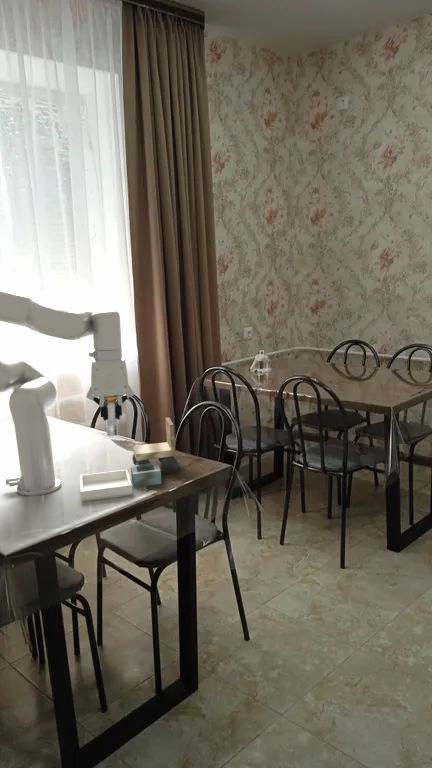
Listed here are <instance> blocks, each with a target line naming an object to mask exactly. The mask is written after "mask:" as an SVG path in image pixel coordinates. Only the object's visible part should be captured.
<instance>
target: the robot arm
mask: <svg viewBox="0 0 432 768" xmlns="http://www.w3.org/2000/svg"><path fill="white" fill-rule="evenodd" d="M0 322H5V323H9V324H12V325H13V324H14V325H16V326H21V327H25V328H28V329H30V330H31V331H35V332H36V333H40V334H42V335H45V336H50V337H54V338H57V339H63V340H67V341H76V340H80V339H81V338H84V337H88V336H92V338H93V350H92V351H89V352H88V356H89V358H94V359H93V360H92V361H91V371H90V372H91V373H90V374H91V375H90V388H89V389H88V391H87V393H86V395H85V397H86V398H87V399H88V400H90V401H92V402H95V404H96V405H98V406H99V408H100V409H99V412H100V417H101V418H102V420H103V421H104V422H106V407H105V400H104V397H107V396H117V399H116V403H117V406H116V408H117V421H118V420H121V416H122V415H123V411H122V405H123V404H124V403H125V402H126V400H127V399H130V397H132V396H134V395H135V392H134V391H133V389H132V388H131V387H130V385H129V377H128V375H129V374H128V368H127V364H126V360H125V358H123V356H122V336H121V335H122V334H121V333H122V332H121V316H120V313H119V312H118V311H117V310H108V309H107V310H105V309H104V310H92V309H91V310H90V309H77V310H73V311H65V310H61V309H56V308H52V307H49V306H46V305H43V304H42V303H41V302H40V301H39V300H38V298H36V297H33V296H29V295H26V294H20V293H18V292H17V293H16V292H14V290H13V289H11V288H9V287H6V286H0ZM10 390H13V391H12V392H11V394H10V396H9V401H8V405H9V411H10V413H11V417H12V421H13V424H14V431H15V440H16V446H17V453H18V454H17V455H18V463H19V470H20V471H19V472H20V474H19V475H18V476H16V477H7V478H5V485H6V486H7V485H8V486H9V487H15V486H16V491H17V492H16V493H18V494H19V495H21V496H28V497H29V496H30V497H31V496H35V497H36V496H41V495H45V494H46V495H47V494H49V493H53V492H55V491H57V490H58V489H59V488H60V487H61V486H62V481H61V480H60V478H56V474H55V467H54V465H55V464H54V457H53V447H52V440H51V439H52V438H51V432H50V431H51V429H50V424H49V422H48V418H47V415H46V411H45V410H47V409H48V408H49V407H51V406H52V405H53V404H54V403H55V401H56V399H57V392H58V391H57V388H56V386H55V384H54V383H53V382H52V381H51V380H50V379H49V378H48V377H46V376H45V375H44V374H43V373H42V372H40V371H39V370H38V369H37V368H35V367H34V366H33V365H31V364H30V363H29V362H28V361H26V360H25V359H23V358H22V357H20V356H17V355H12V354H10V355H5V356H1V357H0V393H4V392H8V391H10Z"/></svg>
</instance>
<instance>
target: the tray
mask: <svg viewBox="0 0 432 768" xmlns="http://www.w3.org/2000/svg"><path fill="white" fill-rule="evenodd" d="M129 473H130V472H129V471H128V469H119V470H112V471H110V470H109V471H103V472H95V473H88V474H80V475H79V483H80V498H81V502H82V503H85V502H90V501H98V500H105V499H106V500H107V499H113V498H114V499H115V498H120V497H121V498H122V497H129V495H130V496H133V483H132V479H131V477H130V474H129Z"/></svg>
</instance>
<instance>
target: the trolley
mask: <svg viewBox="0 0 432 768" xmlns="http://www.w3.org/2000/svg"><path fill="white" fill-rule="evenodd" d="M164 420H165V431H166V442H158V443H157V442H156V443H149V444H139V445H133V446H132V449H133V454H132V463H133V464H134V465H133V464H132V465H130V475H131V477H130V479H131V483H132V486H133V487H134V488H139V487H140V488H141V487H146V486H147V487H148V486H156V485H161V484H163V483H162V473H161V472H162V471H161V468H162V470H163V472H165V473H167V474H174V473H175V472H176V471H178V469H179V461H178V460H177V458H176V455H177V454H176V453H177V451H176V439H175V427H174V425H175V424H174V423H173V421H172V420H171V418H170V417H165V419H164ZM154 459H158V461H159V462H160V464H161V468H160V467H159V464H158V462H151V461H150V460H154Z"/></svg>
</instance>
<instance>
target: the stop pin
mask: <svg viewBox="0 0 432 768" xmlns="http://www.w3.org/2000/svg"><path fill="white" fill-rule="evenodd" d="M104 404H105V407H106V421H105V424H106V425H105V429H106V436H110V437H114V436H118V434H119V429H118V419H117V408H116V406H117V396H107V397H104Z"/></svg>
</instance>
